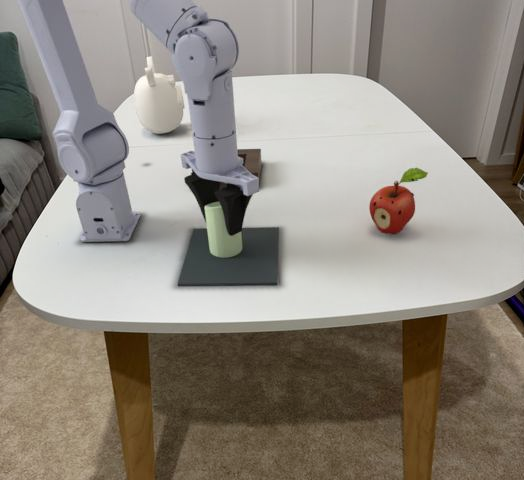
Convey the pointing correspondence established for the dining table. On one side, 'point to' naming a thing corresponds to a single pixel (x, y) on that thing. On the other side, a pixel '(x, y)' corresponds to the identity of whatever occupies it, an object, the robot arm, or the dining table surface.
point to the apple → (395, 204)
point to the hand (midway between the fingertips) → (223, 226)
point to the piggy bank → (158, 101)
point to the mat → (232, 260)
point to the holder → (249, 162)
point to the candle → (220, 233)
